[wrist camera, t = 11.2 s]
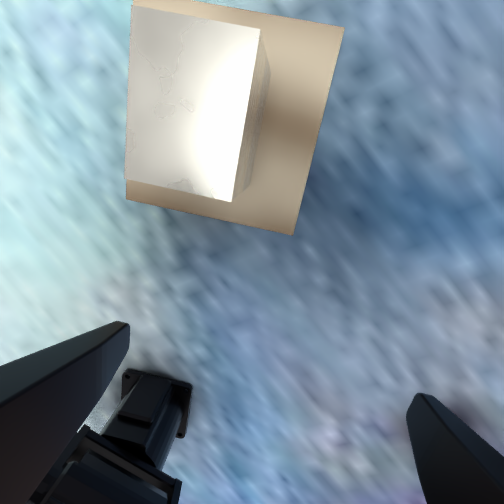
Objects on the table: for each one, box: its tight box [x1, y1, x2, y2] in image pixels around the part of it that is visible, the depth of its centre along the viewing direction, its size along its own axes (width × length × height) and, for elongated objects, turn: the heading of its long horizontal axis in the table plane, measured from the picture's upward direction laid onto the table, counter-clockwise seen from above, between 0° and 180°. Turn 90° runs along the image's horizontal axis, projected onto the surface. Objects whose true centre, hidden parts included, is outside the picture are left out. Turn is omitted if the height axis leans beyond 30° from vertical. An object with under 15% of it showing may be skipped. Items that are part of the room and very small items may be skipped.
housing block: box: [124, 5, 271, 202], centre depth 14 cm, size 6×5×6 cm
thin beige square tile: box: [126, 0, 345, 235], centre depth 18 cm, size 11×11×2 cm
